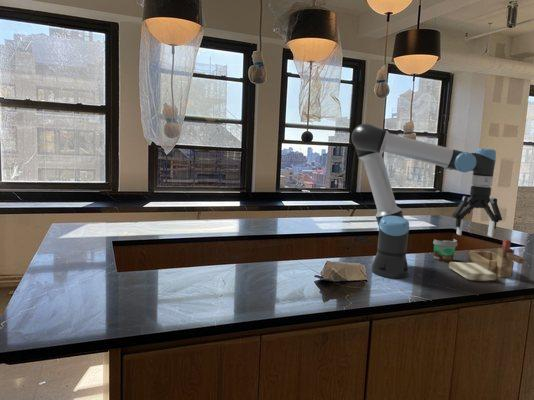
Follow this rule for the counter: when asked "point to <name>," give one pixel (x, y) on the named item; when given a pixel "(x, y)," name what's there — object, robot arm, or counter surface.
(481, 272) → the cream flat piece
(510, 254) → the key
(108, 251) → the counter surface
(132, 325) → the counter surface
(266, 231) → the counter surface
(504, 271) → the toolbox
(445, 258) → the food container
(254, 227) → the counter surface
